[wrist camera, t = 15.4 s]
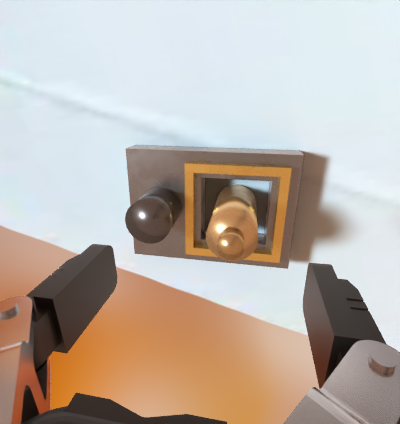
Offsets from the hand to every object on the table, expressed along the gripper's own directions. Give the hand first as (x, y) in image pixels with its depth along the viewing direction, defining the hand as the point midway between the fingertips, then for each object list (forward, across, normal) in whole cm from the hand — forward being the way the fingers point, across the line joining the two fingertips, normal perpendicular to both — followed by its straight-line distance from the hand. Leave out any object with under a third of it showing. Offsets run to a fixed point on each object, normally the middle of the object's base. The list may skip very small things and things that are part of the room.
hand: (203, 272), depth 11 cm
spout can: (+24, 0, +6) cm, 25 cm away
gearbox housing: (+24, +3, +6) cm, 25 cm away
